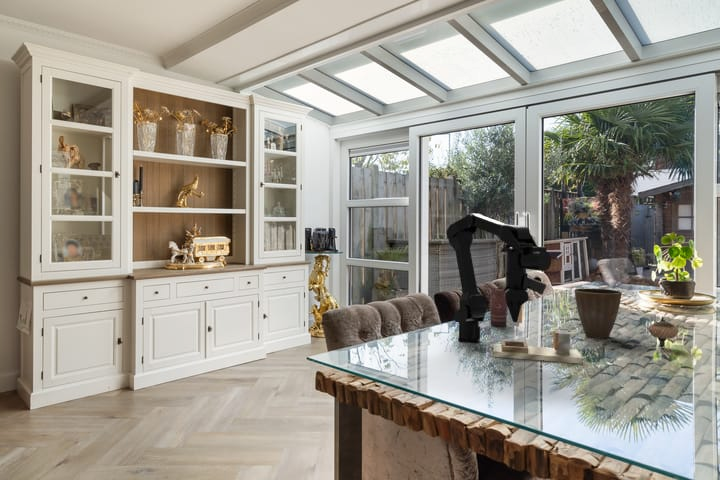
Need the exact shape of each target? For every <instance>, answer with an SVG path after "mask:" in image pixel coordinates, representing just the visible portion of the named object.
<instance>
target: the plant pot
mask: <svg viewBox="0 0 720 480" xmlns="http://www.w3.org/2000/svg"><path fill="white" fill-rule="evenodd" d="M573 290H574V297H575V304H576V309H577V312H578V318H579V320H580V323H581V327H582V330H583V333H584V334H585V336H586V337H588V338H593V339H607V338H609V337H610V336H611V334H612V331H613V328H614V326H615V323H616V320H617V317H618V313H619V309H620V304H621V300H622V299H621V298H622V291H621V290H613V289H607V288H606V289H605V288H576V289H573Z"/></svg>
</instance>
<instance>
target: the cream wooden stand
mask: <svg viewBox="0 0 720 480" xmlns="http://www.w3.org/2000/svg"><path fill="white" fill-rule="evenodd" d="M500 341H501V343H493V348H492V349H493V357H494V358H504V359H505V358H507V359H519V360H520V359H521V360H530V361H531V360H533V361H543V360H544V361H546V362H557V363H571V364H583V363H584V361H583V360H584V358H583V356H582V355H581V354H580V352H579V351H578V350H577V349H572V348H571V347H570V346H571V345H570V344H571V343H570V342H571V333H570V332H569V331H568V330H562V329H560V330H559V329H554V330H553V347H545V346H532V345H530V346H529V345H528V342H527V341H519V340H509V339H501V340H500Z"/></svg>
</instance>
